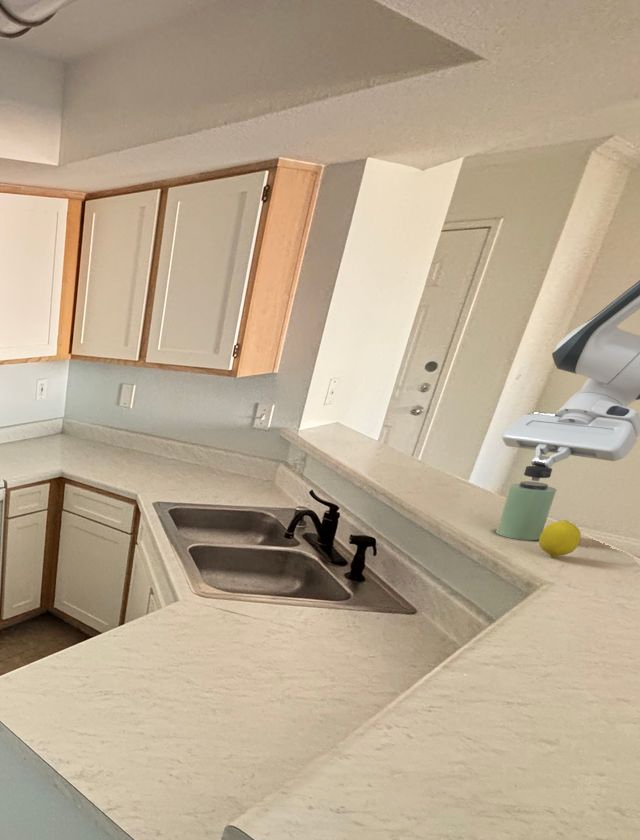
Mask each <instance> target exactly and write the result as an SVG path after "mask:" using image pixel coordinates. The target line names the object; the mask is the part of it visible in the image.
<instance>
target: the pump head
mask: <svg viewBox="0 0 640 840" xmlns="http://www.w3.org/2000/svg"><path fill="white" fill-rule="evenodd" d="M552 472H553V468H552V467H550V468H545V467H540V466H533V465H527V466H525V470H524V473H523V475H524V476H525V477H531V481H532V482H539V481H540V479H549V478H551V475H552Z"/></svg>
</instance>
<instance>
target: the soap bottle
mask: <svg viewBox="0 0 640 840" xmlns="http://www.w3.org/2000/svg"><path fill="white" fill-rule="evenodd" d="M556 493H557V489H556V488H554V487H553V486H549V484H548V483H544V482H539V481H529V480H526V481H525V480H524V481H520V482H519V483H518V482H516V483H511V484H510V485H509V488H508V491H507V494H506V498H505V501H504V504H503V507H502V511H501V514H500V517H499V521H498V523H497V527H496V530H495V533H496V534H497V535H499V536H502V537H505V538H510V539H514V540H521V541H539V538H540V535H541V533H542V531H543V530H544V529H545V527H546V526H545V525H546V523H547V519H548V517H549V514H550V510H551V507H552V504H553V501H554V499H555V496H556Z"/></svg>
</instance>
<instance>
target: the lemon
mask: <svg viewBox="0 0 640 840" xmlns="http://www.w3.org/2000/svg"><path fill="white" fill-rule="evenodd" d="M538 542H539V548H540V549H541V550H542V551H543V552H545V553H546V554H548V555H549V556H550V558H552V559H553V558H558V557H560V556H566V555H569V554H571V553H572V552H574V551H575V550H576V549H577V548H578V547H579V544H580V542H581V531H580V529H579V527H578V526H576V525H575V524H574V523H572V522H570V521H569V520H567V519H563V520H561V521H555V522H552V523H550V524H548V525H547V526H545V527H544V529H543V531H542V533H541V535H540V538H539V540H538Z"/></svg>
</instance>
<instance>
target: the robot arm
mask: <svg viewBox="0 0 640 840" xmlns="http://www.w3.org/2000/svg"><path fill="white" fill-rule="evenodd" d="M639 310H640V279H639V280H638V281H637V282H636V283H634V284H633V285H632V286H631V287H629V288H628V289H627V290H625V291H624V292H623V293H621V294H620V295H619V296H618V297H617V298H615V299H614V300H612V301H611V302H610V303H609V304H608V305H606V306H605V307H604V308H602V309H601V310H600V311H599V312H598V313H596V314H595V315H593V316H592V317H591V318H590V319H588V320H587V321H586V322H585V323H583V324H581V325H580V326H578V327H576V328H574V329H573V330H571V331H570V332H569V333H567V335H565V336H564V337H563V338H562V339H561V340H560V341H559V342H558V343H557V345H556V346H555V348H554V349H553V352H552V353H551V356H552V360H553V363H554V365H555V367H556V368H557V370H561V371H564V372H568V373H571V374H575V375H576V374H578V375H580V376H583V377H586V378H587V380H585V382H583V384H582V387H581V389H580V390H579V391H577V392H575V393H574V394H572V396H570V397H569V398H568V399H567V401H565V402H564V404H563V405H562V406H561V407H560V408H559V409H558V410H557V411H556V412H542V411H533V412H529V413H526V414H523V415H521V416H520V417H519V419H517V420H516V421H514V422H513V423H512V424H511V425H509V426H508V427H507V428H506V429H505V430H504V431H503V432H502V434H501V438H502V441H503V443H504V444H505V446H506V447H510V448H516V449H517V448H518V449H523V450H524V449H525V450H531V451H535V456H534V457H533V458H532V459H531V460H530V463H531V466H540V467H545V468H552V466H553V465H555V464H556V463H560V462H562V461H564V460H566V459H568V458H569V457H570V456H574V457H581V458H588V459H594V460H602V461H609V462H616V461H620V460H622V459H624V458H625V457H626V456H628V454H629V453H630V452H631V451H632V450H633V448H634V447H635V445H636V444H637V441H638V438H637V437H640V414H639V412H638V410H636V409H633V408H630V407H628V406H629V405H631V404H632V403H634V402H635V401H636V402H637V401H639V400H640V335H639V334H636V333H632V332H629V331H626V330H624V329H621V328H619V327H618V326H619V325H620V324H623V322H624V321H626V320H627V319H628V318H630V317H631V316H633V315H634V314H635V313H636V312H638V311H639ZM548 453H553V454H552V455H550V456H546V455H547V454H548Z"/></svg>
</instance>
